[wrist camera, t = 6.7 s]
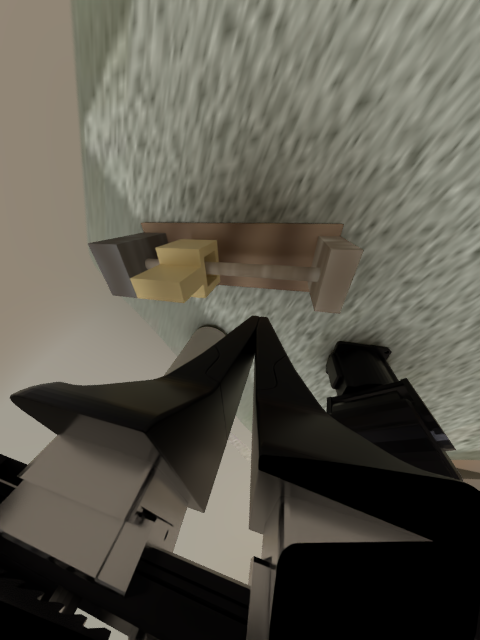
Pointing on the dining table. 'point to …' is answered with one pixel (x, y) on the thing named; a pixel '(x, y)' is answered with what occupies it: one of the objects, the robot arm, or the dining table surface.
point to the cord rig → (244, 257)
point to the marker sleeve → (179, 272)
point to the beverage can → (197, 345)
